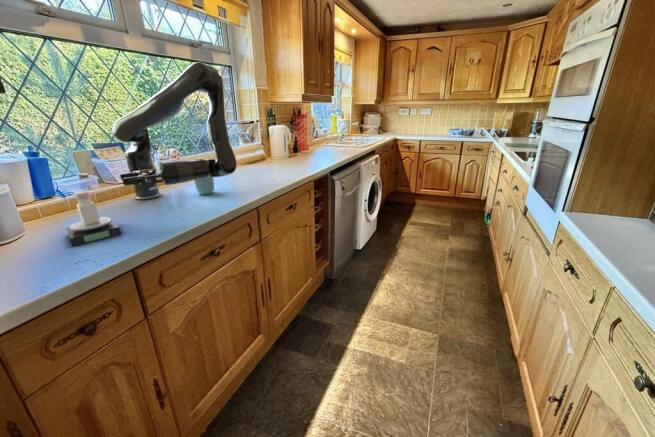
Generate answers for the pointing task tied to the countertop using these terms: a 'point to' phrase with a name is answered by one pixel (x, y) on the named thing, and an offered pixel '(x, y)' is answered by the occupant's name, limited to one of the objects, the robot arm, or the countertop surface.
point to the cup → (205, 185)
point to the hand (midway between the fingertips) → (121, 179)
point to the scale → (92, 231)
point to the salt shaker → (87, 208)
